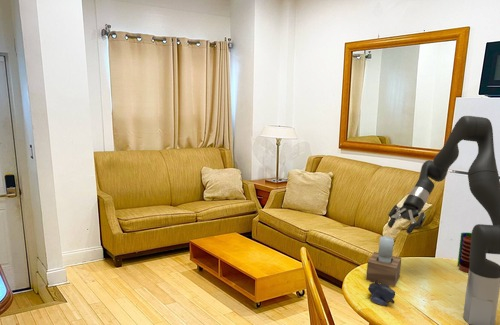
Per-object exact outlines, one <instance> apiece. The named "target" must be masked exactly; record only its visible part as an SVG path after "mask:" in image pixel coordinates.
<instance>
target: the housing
mask: <svg viewBox="0 0 500 325" xmlns="http://www.w3.org/2000/svg"><path fill="white" fill-rule="evenodd" d="M401 264H402V257H398V256H394V255H392V257H391V264H390V263H385V262H381V261H379V255H378V252H377V251H376V252H375V251H374V252H373V253H372V255H371V256H370V258H369V259H368V261H367V264H366V265H367V266H366V277H365V278H366V279H365V281H369V282H372V283H375V281H376V280H378V281H377V282H376V283H378V282H379V281H381V282H379V284H385V285H388V286H389V287H390V288H391V287H392V288H395V287H396V285H397V283H398V281H399V278H400V276H401V274H400V273H401Z"/></svg>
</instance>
